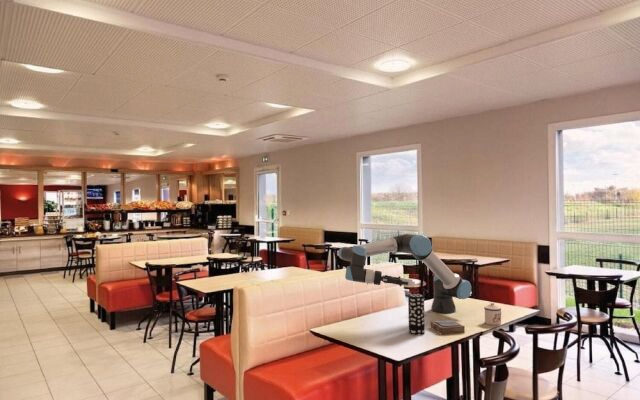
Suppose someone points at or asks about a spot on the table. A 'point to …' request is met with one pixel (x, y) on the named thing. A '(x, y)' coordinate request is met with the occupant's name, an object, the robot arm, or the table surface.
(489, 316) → the teacup with lid
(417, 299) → the white-spotted black cylinder
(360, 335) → the table surface
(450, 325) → the plinth
